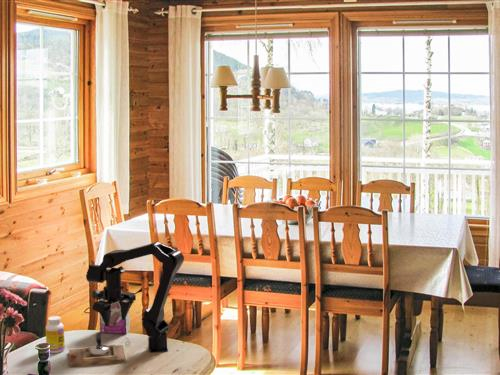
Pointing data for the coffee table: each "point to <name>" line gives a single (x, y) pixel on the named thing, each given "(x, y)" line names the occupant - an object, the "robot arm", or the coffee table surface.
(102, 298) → the robot arm
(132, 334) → the coffee table surface
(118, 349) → the board
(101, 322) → the candy bar box
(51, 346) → the supplement bottle
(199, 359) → the coffee table surface
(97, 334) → the crank wheel
